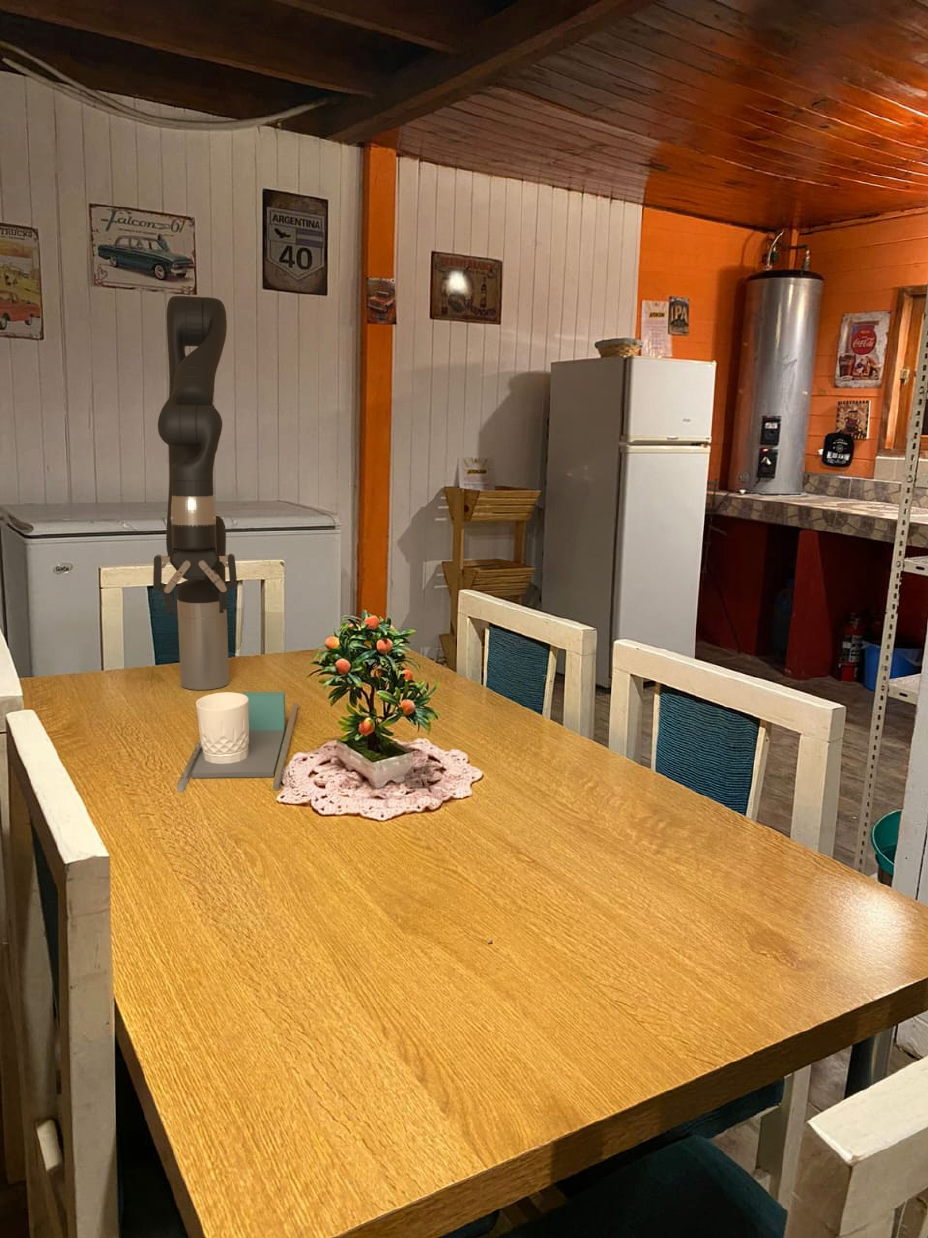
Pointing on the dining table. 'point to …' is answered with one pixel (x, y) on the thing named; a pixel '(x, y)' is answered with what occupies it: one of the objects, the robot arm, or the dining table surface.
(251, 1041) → the dining table surface
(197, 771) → the grey tray
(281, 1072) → the dining table surface
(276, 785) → the rails
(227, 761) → the white cup
